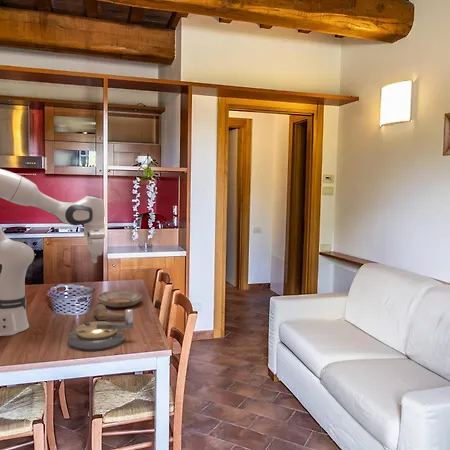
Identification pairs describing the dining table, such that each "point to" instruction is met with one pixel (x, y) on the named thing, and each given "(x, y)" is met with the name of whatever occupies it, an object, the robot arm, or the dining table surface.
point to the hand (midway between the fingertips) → (94, 262)
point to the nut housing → (96, 342)
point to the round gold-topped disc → (103, 328)
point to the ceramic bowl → (119, 298)
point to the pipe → (107, 314)
